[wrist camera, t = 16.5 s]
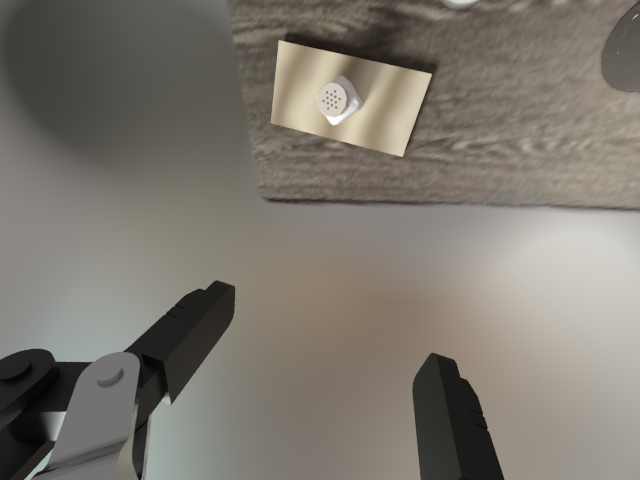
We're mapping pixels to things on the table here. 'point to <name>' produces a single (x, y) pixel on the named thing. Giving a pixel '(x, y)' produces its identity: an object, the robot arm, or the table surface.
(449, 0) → the white rounded pebble
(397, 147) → the birch serving board
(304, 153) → the table surface
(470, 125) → the table surface
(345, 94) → the pepper shaker
